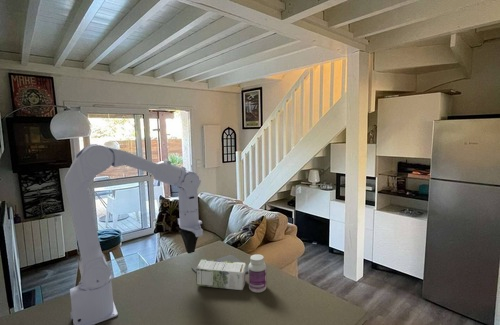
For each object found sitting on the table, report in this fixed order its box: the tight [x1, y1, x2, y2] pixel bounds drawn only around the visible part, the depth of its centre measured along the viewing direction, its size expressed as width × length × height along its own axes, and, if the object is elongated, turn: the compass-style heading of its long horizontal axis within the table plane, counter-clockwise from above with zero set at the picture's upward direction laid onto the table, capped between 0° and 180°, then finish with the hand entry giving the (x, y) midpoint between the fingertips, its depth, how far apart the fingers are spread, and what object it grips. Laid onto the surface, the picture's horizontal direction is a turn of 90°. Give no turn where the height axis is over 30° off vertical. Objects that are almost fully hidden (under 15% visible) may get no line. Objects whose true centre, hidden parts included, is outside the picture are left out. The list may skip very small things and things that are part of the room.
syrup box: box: [195, 258, 247, 291], centre depth 83 cm, size 6×6×14 cm
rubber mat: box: [191, 254, 249, 274], centre depth 92 cm, size 16×14×1 cm
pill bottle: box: [248, 254, 267, 293], centre depth 80 cm, size 5×5×10 cm
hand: (190, 252), depth 85 cm, fingers closed
